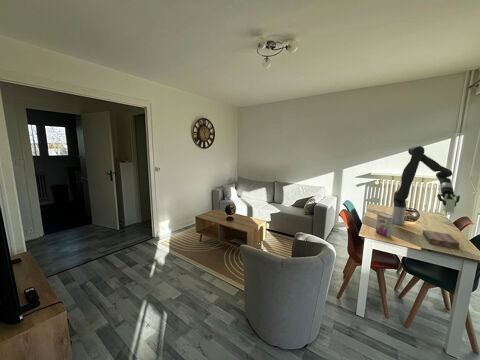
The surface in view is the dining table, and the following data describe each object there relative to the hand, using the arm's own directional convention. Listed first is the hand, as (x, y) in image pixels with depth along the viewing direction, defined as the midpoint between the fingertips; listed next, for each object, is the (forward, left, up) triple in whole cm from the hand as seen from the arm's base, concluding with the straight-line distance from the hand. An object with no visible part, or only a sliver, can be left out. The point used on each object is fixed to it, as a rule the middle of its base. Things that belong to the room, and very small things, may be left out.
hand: (449, 205), depth 167 cm
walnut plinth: (-8, -16, -26) cm, 32 cm away
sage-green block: (0, +2, -5) cm, 6 cm away
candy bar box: (-45, -23, -26) cm, 57 cm away
